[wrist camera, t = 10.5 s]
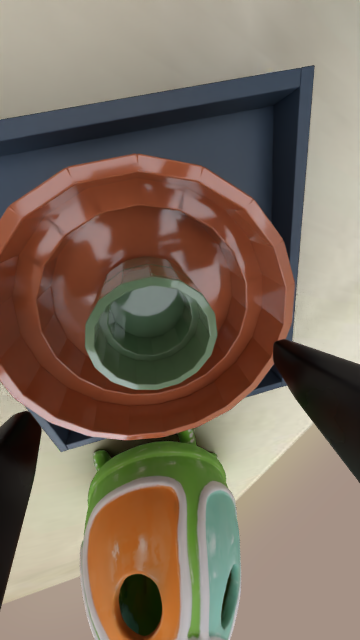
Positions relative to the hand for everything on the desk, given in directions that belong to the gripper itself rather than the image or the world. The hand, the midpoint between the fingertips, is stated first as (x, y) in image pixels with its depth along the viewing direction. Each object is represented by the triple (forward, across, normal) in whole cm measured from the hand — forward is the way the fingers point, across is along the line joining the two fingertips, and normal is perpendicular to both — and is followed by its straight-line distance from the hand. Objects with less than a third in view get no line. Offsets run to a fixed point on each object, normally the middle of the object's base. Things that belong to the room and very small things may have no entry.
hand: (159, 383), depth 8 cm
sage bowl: (+7, 0, 0) cm, 7 cm away
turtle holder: (+8, +3, +19) cm, 21 cm away
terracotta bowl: (+8, 0, 0) cm, 8 cm away
